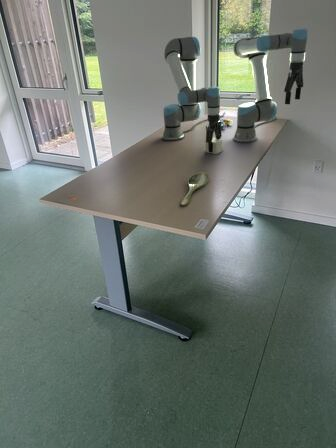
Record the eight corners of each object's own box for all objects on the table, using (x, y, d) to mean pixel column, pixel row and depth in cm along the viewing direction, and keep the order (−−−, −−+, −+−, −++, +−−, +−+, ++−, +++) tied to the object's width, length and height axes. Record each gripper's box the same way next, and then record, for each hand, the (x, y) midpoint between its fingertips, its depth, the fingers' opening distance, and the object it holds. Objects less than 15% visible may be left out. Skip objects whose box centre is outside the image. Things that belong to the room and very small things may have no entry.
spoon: (193, 209, 156) (193, 205, 155) (172, 207, 159) (171, 203, 158) (212, 175, 182) (212, 172, 181) (193, 174, 186) (193, 170, 184)
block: (211, 149, 221) (211, 138, 217) (222, 151, 216) (222, 139, 212) (205, 152, 217) (205, 140, 213) (216, 154, 212) (216, 142, 208)
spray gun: (235, 122, 269) (217, 122, 276) (235, 117, 267) (217, 117, 273) (227, 130, 254) (208, 130, 260) (227, 125, 252) (208, 124, 258)
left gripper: (217, 109, 213) (217, 145, 224) (199, 117, 201) (200, 154, 212) (227, 111, 208) (227, 146, 220) (209, 118, 196) (209, 156, 208)
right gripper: (299, 58, 194) (295, 96, 205) (280, 64, 178) (276, 105, 189) (312, 58, 189) (307, 97, 200) (293, 64, 174) (289, 106, 185)
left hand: (213, 150), depth 216 cm, fingers closed on block, 7 cm apart
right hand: (292, 101), depth 195 cm, fingers open, 13 cm apart
